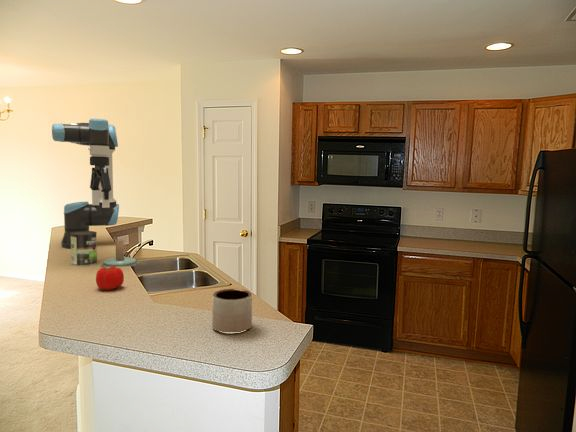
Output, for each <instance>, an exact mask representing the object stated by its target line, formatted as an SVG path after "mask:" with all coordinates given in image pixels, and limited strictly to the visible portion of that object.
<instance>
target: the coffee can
mask: <svg viewBox="0 0 576 432" xmlns="http://www.w3.org/2000/svg"><path fill="white" fill-rule="evenodd" d="M97 234H98V233H97V231H92V230H89V231H78V232H72V233H70V235H71V248H70V254H71V255H70V257H71V265H72V266H77V267H85V266H92V265H96V264H98V249H97V248H98V247H97V246H98V245H97V242H98V241H97Z"/></svg>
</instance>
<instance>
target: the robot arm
mask: <svg viewBox="0 0 576 432" xmlns="http://www.w3.org/2000/svg"><path fill="white" fill-rule="evenodd" d="M51 137H52V140H53V141H54V142H60V143H71V144H76V145H80V146H89V147H88V149H87V150H88V151H89V155H90V157H89V165H90V166H94V167H91V176H90V185H89V189H90V190H91V203H89V201H78V202H77V201H76V202H70V203H67V204H65V205H64V207H63V215H64V216H63V217H64V222H63V223H64V233H63V236H62V239H61V243H60V244H61V246H62V248H63V249H71V235H70V233H72V232H78V231H90V227H93V226H95V227H98V226H99V227H100V226H103V227H104V226H105V227H106V226H107V227H109V226H115V225H117V224H118V219H119V210H120V204H118V203H117V200H116V198H114V179H113V176H114V175H113V172H114V171H113V154H114V152H115V151H116V148H118V147H119V145H118V144H119V143H118V137H117V131H116V126H115V125H113V124H109V120H107V119H104V118H90V119H89V120H88V122H77V123H76V122H74V123H69V124H68V123H66V124H65V123H54V124H53V123H52V125H51Z"/></svg>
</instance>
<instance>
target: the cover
mask: <svg viewBox="0 0 576 432" xmlns="http://www.w3.org/2000/svg"><path fill="white" fill-rule="evenodd" d="M114 242H115V257H110V258H106V259H104V260H103V263H104V264H105V265H108V266H118V267H127V266H126V265H131V264H134V263H135V262H136V259H137V258H134V257H132V256H125V240H124V239H122V238H120V239H115V241H114Z"/></svg>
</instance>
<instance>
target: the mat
mask: <svg viewBox="0 0 576 432" xmlns="http://www.w3.org/2000/svg"><path fill="white" fill-rule="evenodd" d="M135 259H136V262H135V263H134V264H131V265H126V266H125V267H135V266H136V265H137V263H138V261H139V258H135ZM99 267H100V268H103V267H106V268H110V267H113V266H108V265H105V264H104V262H103V263H102V264H100V266H99ZM115 267H117V268H119V266H115Z"/></svg>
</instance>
